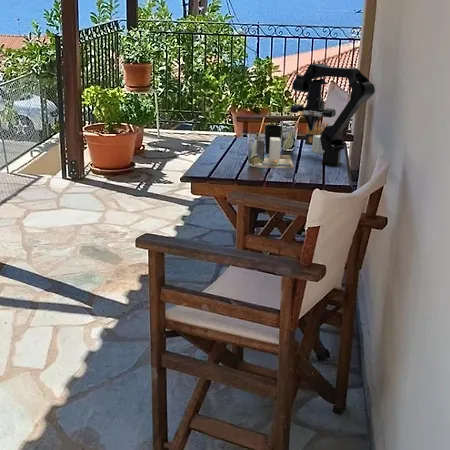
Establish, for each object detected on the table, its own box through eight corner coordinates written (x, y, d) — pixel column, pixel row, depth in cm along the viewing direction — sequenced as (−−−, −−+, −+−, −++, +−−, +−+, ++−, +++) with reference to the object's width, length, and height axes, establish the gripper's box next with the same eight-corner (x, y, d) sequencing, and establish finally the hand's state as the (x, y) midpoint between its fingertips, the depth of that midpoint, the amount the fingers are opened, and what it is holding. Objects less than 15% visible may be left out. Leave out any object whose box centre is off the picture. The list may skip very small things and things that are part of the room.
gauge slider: (278, 158, 272) (279, 137, 269) (280, 164, 263) (281, 143, 259) (268, 158, 272) (270, 137, 269) (270, 164, 262) (272, 142, 259)
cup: (274, 156, 281) (276, 128, 277) (259, 152, 286) (261, 126, 281) (283, 153, 287) (285, 126, 283) (269, 150, 291) (271, 123, 287)
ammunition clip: (304, 144, 306) (306, 119, 302) (305, 143, 308) (307, 118, 304) (326, 147, 302) (329, 121, 298) (327, 146, 304) (330, 121, 300)
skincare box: (318, 154, 288) (319, 138, 286) (311, 151, 293) (312, 135, 291) (329, 153, 290) (331, 137, 288) (323, 150, 296) (324, 134, 293)
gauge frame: (290, 161, 274) (292, 138, 270) (293, 168, 262) (295, 144, 259) (253, 159, 274) (254, 136, 270) (254, 167, 262) (256, 143, 258)
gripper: (341, 94, 273) (338, 130, 279) (301, 89, 282) (298, 125, 287) (332, 97, 264) (329, 135, 270) (291, 92, 272) (288, 129, 278)
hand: (311, 130), depth 276 cm, fingers closed
